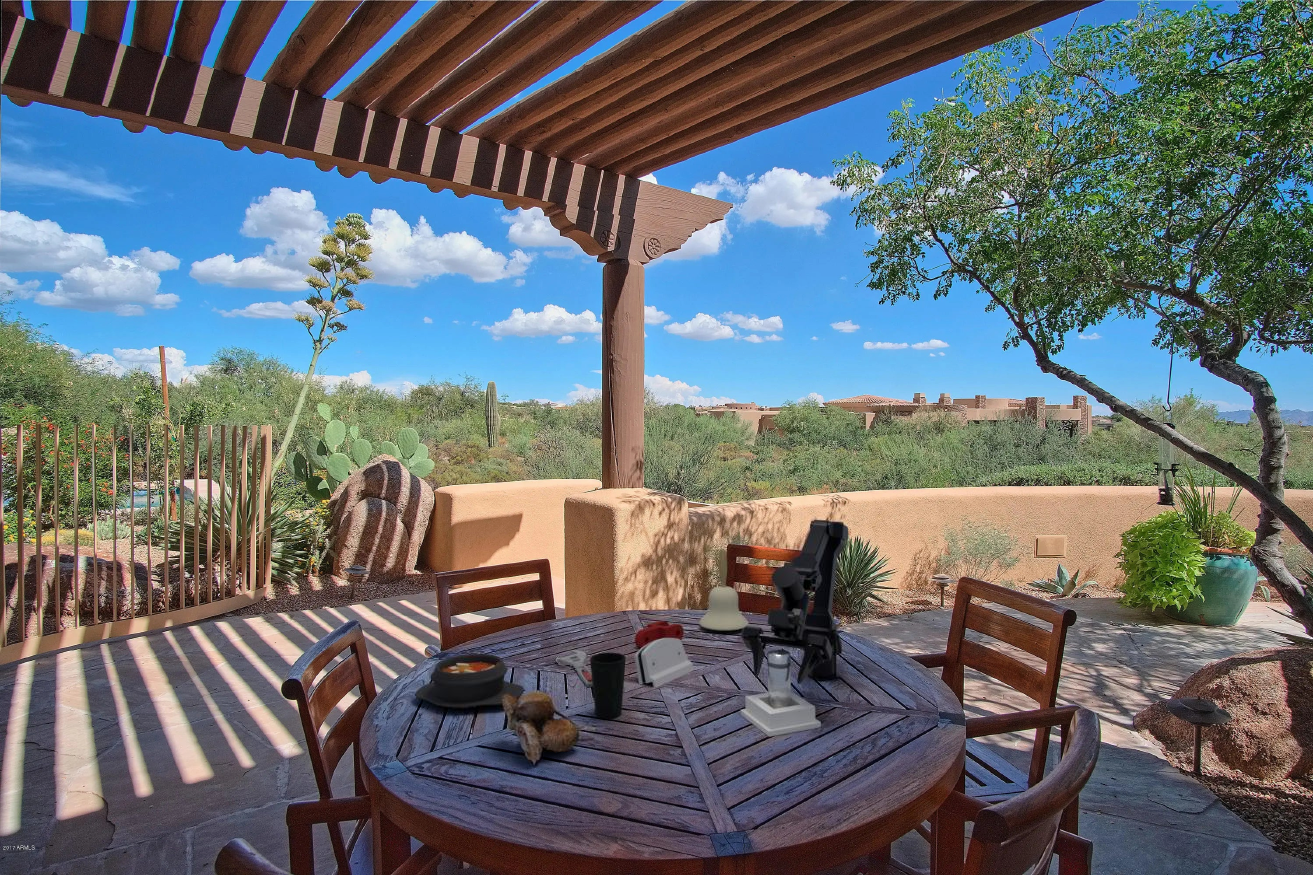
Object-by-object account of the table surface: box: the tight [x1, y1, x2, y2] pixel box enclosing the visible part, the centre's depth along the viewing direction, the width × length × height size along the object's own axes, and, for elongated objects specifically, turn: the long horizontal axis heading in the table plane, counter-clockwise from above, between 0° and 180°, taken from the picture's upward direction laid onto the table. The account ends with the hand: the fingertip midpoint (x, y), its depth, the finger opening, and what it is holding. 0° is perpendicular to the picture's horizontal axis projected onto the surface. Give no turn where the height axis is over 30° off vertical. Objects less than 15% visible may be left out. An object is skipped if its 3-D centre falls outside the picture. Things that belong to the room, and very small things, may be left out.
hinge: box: [634, 638, 695, 688], centre depth 171 cm, size 17×5×10 cm, turn 142°
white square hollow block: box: [739, 691, 822, 738], centre depth 142 cm, size 12×12×4 cm
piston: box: [766, 649, 792, 709], centre depth 142 cm, size 5×5×13 cm
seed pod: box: [502, 691, 596, 765], centre depth 131 cm, size 13×16×15 cm
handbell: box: [698, 548, 749, 631], centre depth 214 cm, size 15×15×25 cm
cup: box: [589, 652, 626, 720], centre depth 147 cm, size 8×8×12 cm
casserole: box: [414, 653, 525, 709], centre depth 156 cm, size 25×19×8 cm
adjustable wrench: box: [555, 649, 593, 688], centre depth 175 cm, size 8×26×2 cm, turn 14°
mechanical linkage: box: [634, 620, 684, 649], centre depth 199 cm, size 16×7×5 cm, turn 138°
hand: (776, 679), depth 141 cm, fingers open, 9 cm apart
